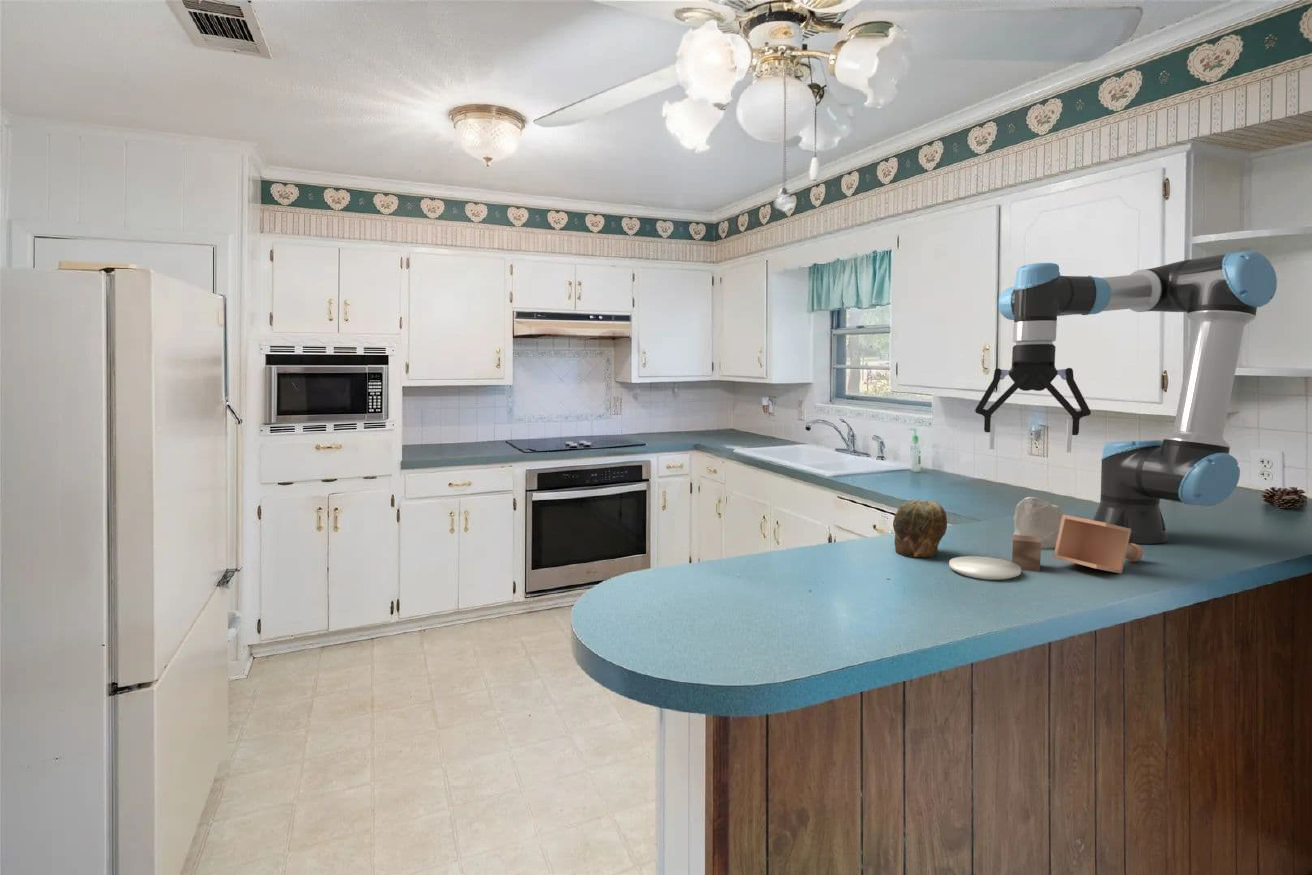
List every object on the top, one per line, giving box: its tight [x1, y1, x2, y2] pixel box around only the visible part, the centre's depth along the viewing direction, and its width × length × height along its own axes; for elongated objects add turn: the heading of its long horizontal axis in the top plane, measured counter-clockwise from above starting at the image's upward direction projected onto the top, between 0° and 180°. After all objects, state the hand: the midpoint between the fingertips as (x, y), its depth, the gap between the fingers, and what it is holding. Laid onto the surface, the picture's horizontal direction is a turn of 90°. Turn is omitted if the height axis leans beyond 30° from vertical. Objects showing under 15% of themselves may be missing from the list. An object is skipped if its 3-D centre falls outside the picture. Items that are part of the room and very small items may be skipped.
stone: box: [1013, 496, 1064, 550], centre depth 158 cm, size 10×5×12 cm, turn 80°
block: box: [1011, 534, 1042, 572], centre depth 142 cm, size 5×5×6 cm
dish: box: [948, 555, 1022, 581], centre depth 139 cm, size 13×13×1 cm
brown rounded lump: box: [892, 499, 948, 558], centre depth 153 cm, size 11×11×12 cm
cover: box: [1053, 514, 1145, 574], centre depth 142 cm, size 9×9×19 cm
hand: (1029, 450), depth 140 cm, fingers open, 13 cm apart
